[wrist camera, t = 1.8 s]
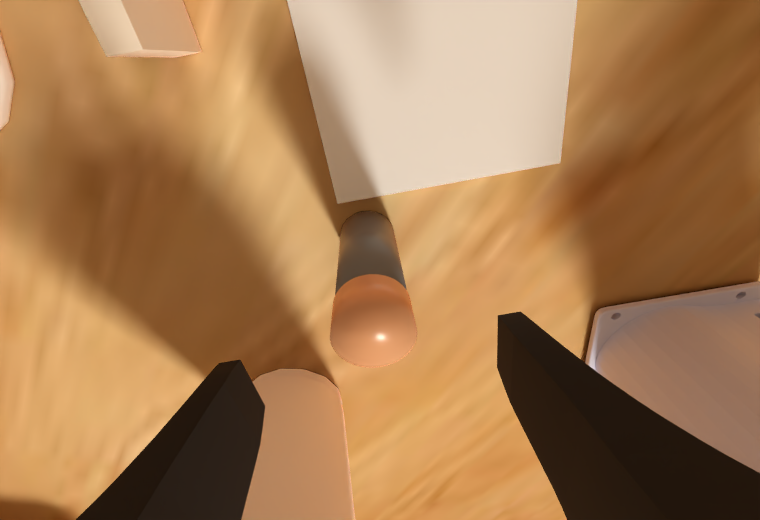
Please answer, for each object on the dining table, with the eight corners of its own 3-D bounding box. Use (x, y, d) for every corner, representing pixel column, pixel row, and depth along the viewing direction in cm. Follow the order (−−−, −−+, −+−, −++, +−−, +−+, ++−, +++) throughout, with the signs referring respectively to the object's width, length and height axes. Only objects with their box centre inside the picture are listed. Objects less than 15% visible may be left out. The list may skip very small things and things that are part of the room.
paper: (581, -81, 11) (586, -85, 11) (556, 161, 15) (560, 163, 15) (283, -20, 11) (281, -22, 11) (337, 201, 16) (337, 203, 15)
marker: (390, 205, 16) (411, 295, 10) (398, 254, 17) (421, 359, 11) (333, 215, 16) (320, 310, 10) (346, 263, 17) (341, 373, 11)
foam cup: (229, 335, 19) (52, 720, 8) (383, 365, 21) (414, 707, 10) (213, 434, 24) (84, 771, 12) (342, 451, 26) (331, 755, 14)
